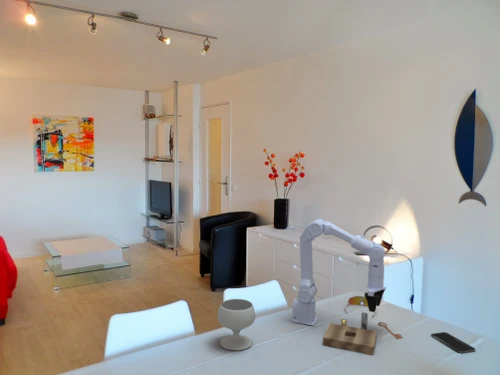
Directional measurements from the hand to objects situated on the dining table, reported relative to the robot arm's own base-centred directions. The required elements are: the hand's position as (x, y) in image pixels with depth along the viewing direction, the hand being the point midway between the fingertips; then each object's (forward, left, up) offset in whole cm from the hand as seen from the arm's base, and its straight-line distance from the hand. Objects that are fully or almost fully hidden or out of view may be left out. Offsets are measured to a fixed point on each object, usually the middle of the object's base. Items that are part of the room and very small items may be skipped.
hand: (374, 308), depth 156 cm
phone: (+29, +3, -11) cm, 31 cm away
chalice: (-46, -31, -10) cm, 57 cm away
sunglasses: (-7, +22, -11) cm, 26 cm away
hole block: (-7, -12, -10) cm, 17 cm away
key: (+7, +5, -11) cm, 13 cm away
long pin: (-3, -2, -10) cm, 11 cm away
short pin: (-11, -2, -10) cm, 15 cm away
